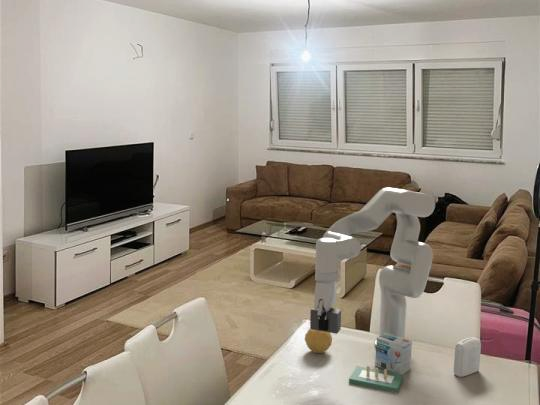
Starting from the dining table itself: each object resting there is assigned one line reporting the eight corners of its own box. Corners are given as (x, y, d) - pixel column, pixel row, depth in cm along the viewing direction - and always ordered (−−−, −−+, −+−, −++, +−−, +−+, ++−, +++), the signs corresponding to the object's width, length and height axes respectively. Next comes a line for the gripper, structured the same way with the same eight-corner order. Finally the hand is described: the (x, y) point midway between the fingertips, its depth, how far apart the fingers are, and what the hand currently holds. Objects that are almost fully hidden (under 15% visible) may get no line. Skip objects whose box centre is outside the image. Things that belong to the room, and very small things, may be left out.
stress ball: (318, 347, 218) (299, 332, 216) (336, 330, 215) (316, 315, 213) (320, 363, 208) (300, 347, 206) (338, 345, 206) (318, 330, 204)
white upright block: (470, 366, 201) (473, 333, 199) (481, 371, 198) (483, 337, 195) (451, 373, 196) (453, 339, 193) (461, 378, 192) (464, 344, 190)
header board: (356, 369, 198) (357, 357, 197) (403, 379, 191) (403, 366, 191) (348, 382, 189) (349, 369, 188) (397, 392, 182) (398, 379, 182)
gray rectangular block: (314, 324, 195) (314, 305, 194) (340, 329, 191) (341, 309, 190) (310, 329, 192) (310, 309, 190) (337, 333, 188) (337, 313, 187)
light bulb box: (374, 366, 201) (375, 337, 199) (384, 359, 206) (385, 331, 204) (401, 376, 194) (402, 346, 192) (411, 369, 199) (412, 340, 197)
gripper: (324, 267, 197) (323, 317, 200) (307, 281, 182) (306, 334, 185) (344, 269, 194) (343, 320, 197) (329, 284, 179) (328, 338, 182)
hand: (325, 327), depth 191 cm, fingers closed on gray rectangular block, 4 cm apart
